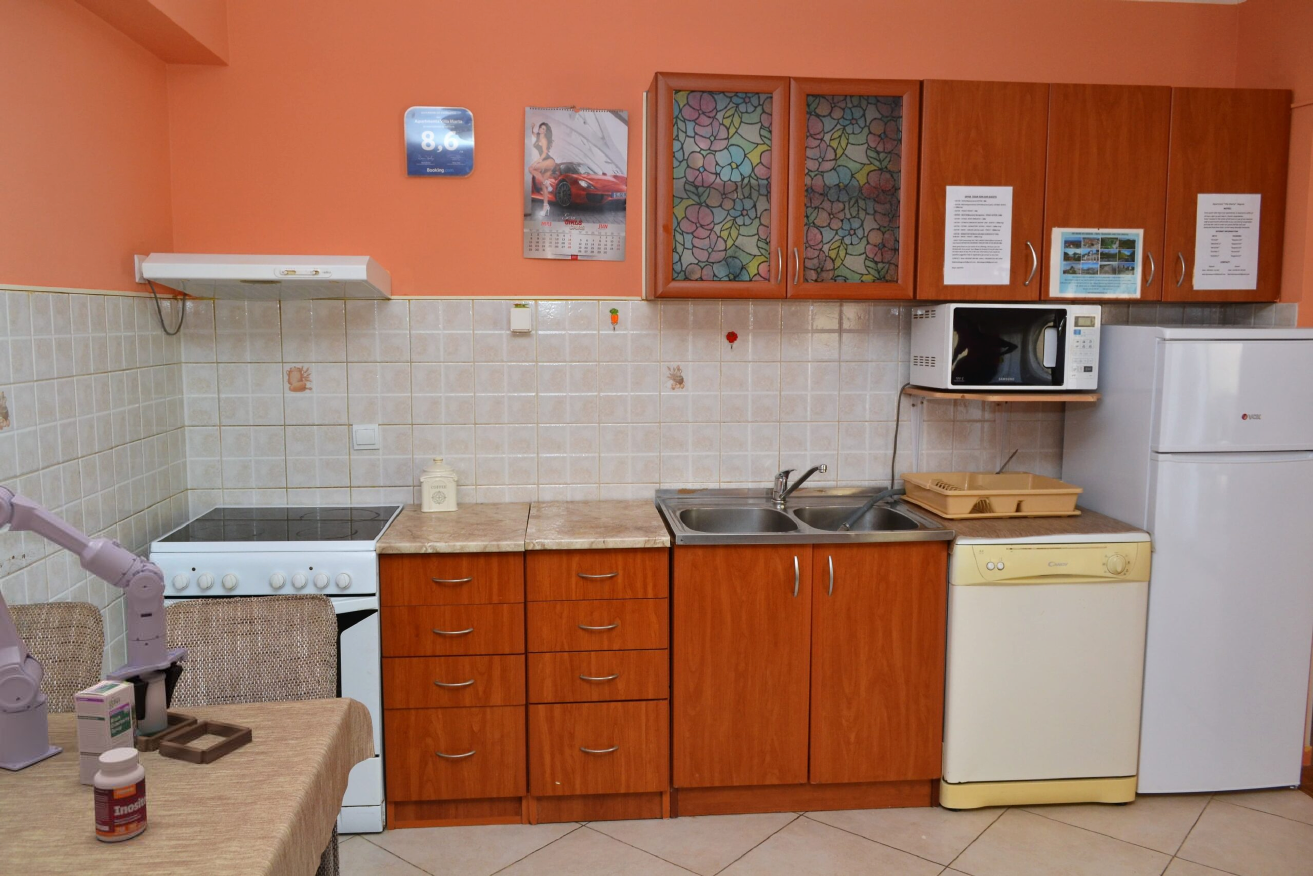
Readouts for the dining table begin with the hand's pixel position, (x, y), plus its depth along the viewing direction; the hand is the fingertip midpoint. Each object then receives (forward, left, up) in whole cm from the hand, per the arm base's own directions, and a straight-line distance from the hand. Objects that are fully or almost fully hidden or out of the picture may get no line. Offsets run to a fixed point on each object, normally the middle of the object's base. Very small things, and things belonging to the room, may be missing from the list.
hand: (151, 713), depth 162 cm
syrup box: (+7, -14, -4) cm, 16 cm away
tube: (0, 0, -2) cm, 2 cm away
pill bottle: (+23, -25, -4) cm, 34 cm away
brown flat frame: (+6, 0, -4) cm, 7 cm away
